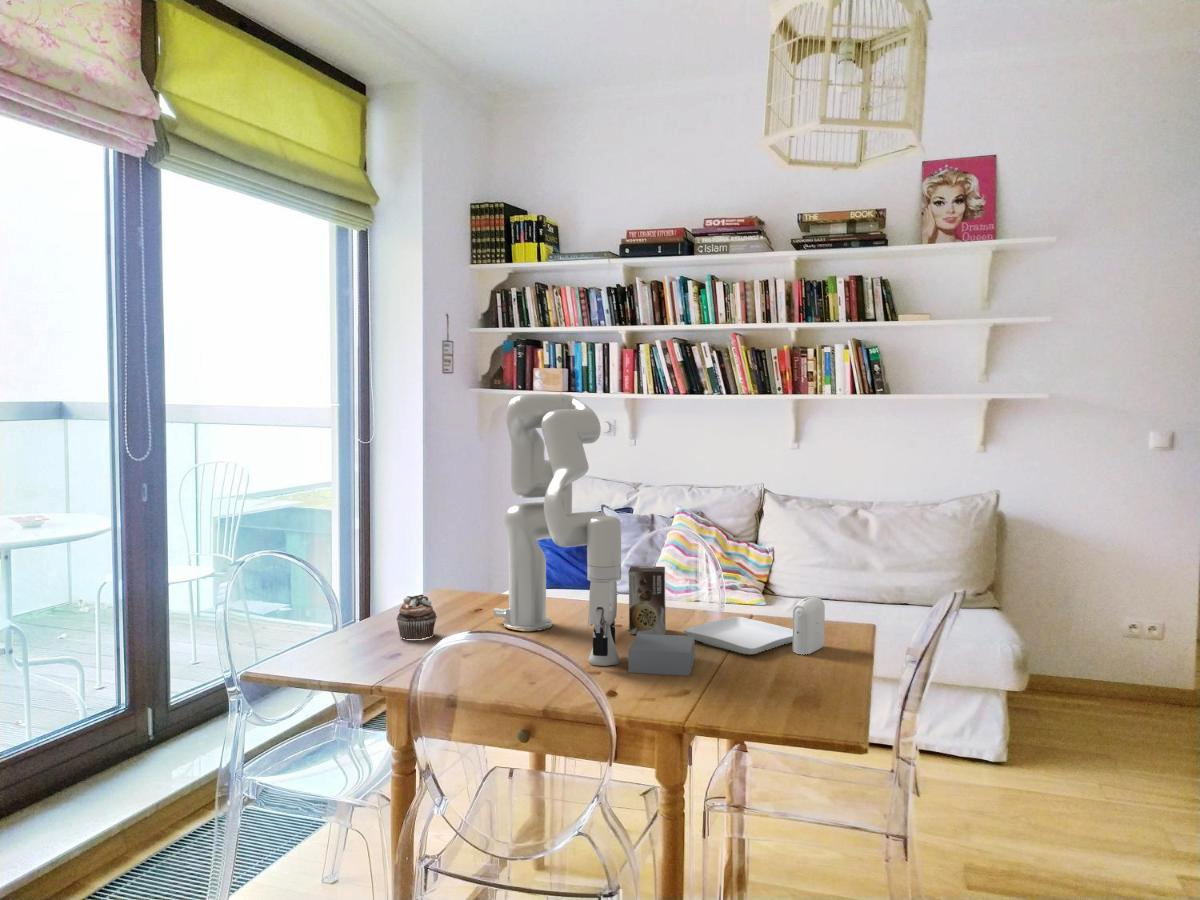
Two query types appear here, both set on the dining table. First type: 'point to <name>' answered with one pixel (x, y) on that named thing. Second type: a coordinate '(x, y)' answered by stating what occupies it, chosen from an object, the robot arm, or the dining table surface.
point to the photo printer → (808, 625)
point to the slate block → (662, 654)
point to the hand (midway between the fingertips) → (604, 649)
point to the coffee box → (647, 600)
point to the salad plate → (741, 635)
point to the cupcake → (416, 618)
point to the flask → (610, 658)
